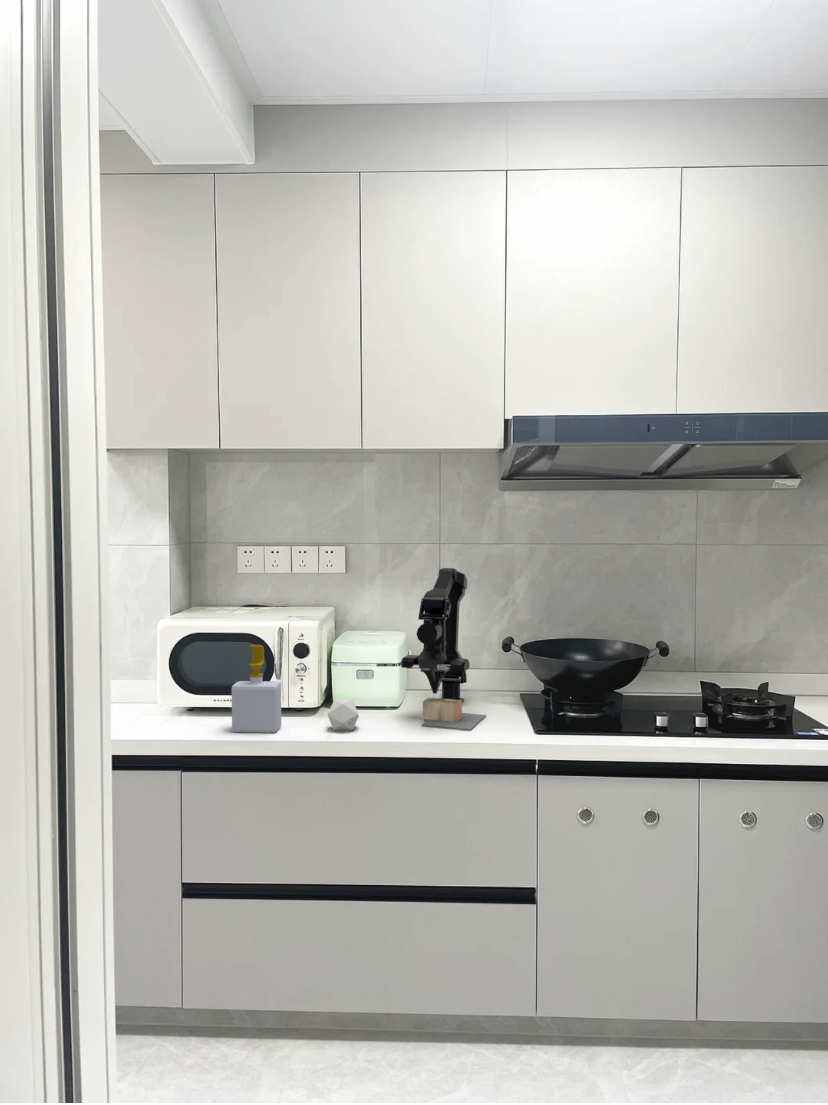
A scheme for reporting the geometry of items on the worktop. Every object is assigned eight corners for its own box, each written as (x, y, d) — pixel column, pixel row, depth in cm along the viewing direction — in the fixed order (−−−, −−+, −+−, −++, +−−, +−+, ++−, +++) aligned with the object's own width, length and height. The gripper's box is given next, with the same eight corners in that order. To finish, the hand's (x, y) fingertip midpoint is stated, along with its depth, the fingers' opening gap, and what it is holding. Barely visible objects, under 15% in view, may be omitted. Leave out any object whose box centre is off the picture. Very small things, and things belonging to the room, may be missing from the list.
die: (346, 737, 218) (365, 706, 221) (318, 720, 220) (338, 689, 222) (348, 740, 226) (366, 710, 229) (321, 723, 227) (340, 693, 230)
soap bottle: (231, 732, 221) (230, 645, 219) (238, 726, 227) (237, 641, 226) (276, 733, 220) (275, 646, 219) (281, 726, 227) (281, 642, 225)
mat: (439, 712, 242) (439, 710, 242) (486, 716, 238) (486, 714, 237) (421, 726, 227) (421, 724, 227) (470, 730, 223) (470, 729, 222)
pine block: (428, 697, 237) (461, 700, 234) (428, 714, 238) (461, 717, 234) (422, 701, 233) (456, 704, 229) (422, 718, 233) (456, 722, 230)
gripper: (393, 641, 229) (393, 696, 230) (458, 645, 222) (458, 702, 223) (408, 635, 239) (408, 688, 240) (470, 638, 233) (469, 693, 234)
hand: (435, 693), depth 234 cm, fingers closed
